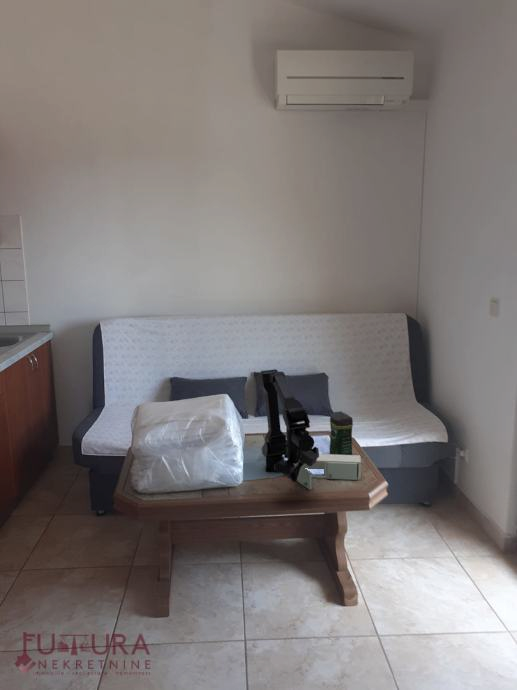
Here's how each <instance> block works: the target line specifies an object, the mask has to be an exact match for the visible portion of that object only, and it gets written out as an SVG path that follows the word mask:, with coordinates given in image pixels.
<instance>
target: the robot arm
mask: <svg viewBox="0 0 517 690" xmlns="http://www.w3.org/2000/svg"><path fill="white" fill-rule="evenodd" d="M257 381H258V383H259V387H260V388H261V390H262V391H263V393H264V397H265V406H266V408H265V409H266V416H267V417H266V419H267V420H266V421H267V429H268V430H267V433H266V435H265V437H264V444H263V445H262V446H261V454H262V455H263V456H264V458H265V469H264V471H265V472H267V473H282V474H286V475H289V477H290V479H291V481H292V482H294V483H296V482H298V481H297V478H298V475H299V471H300V468H301V466H302V465H304V464H307V465H308V466H312V465H313V464H314V463H316V460H317V458H318V457H319V454H320V451H319V448H318V447H317V446H314V445H315V440H314V438H313V437H312V436H311V435H310V432H309V431H308V430H307V429H309V428H310V427H311V426H310V423H311V421H310V419H309V415H308V413H307V409H306V408H305V407H304V406H303V404H302V403H301V401H299V400H298V399H296V398H295V397H294V394H293V392H292V390H291V388H290V385H289V384H288V382H287V380H286V375H285V372H284V371H279V370H278V369H268V370H261V371H260V373H259V374H258V375H257ZM278 398H279V399H278ZM279 400H280V403H281V405H282V410H281V414H282V419H283V422H284V425H285V427H286V429H285V430H286V431H285V433H286V434H284V432H283V431H282V429H281V418H280V410H279ZM285 459H286V460H285Z"/></svg>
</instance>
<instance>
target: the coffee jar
mask: <svg viewBox="0 0 517 690" xmlns="http://www.w3.org/2000/svg"><path fill="white" fill-rule="evenodd" d="M353 424H354V421H353V417H352V416H350V415H349V414H347V413H345V412H343V411H335V412H334V411H333V412H332V413H331V414H330V418H329V425H330V437H329V438H330V440H329V454H334V455H353V441H352V440H353V436H352V435H353Z"/></svg>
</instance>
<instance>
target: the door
mask: <svg viewBox="0 0 517 690" xmlns="http://www.w3.org/2000/svg"><path fill="white" fill-rule="evenodd" d="M312 478H313V477H312V473H311V472H310V471H308V470H307V469H305V468H303V467H302V466H301V468H300V471H299V475H298V478H297V481H296V482H298V483H300V485H302V486H304V487H305V488H307V489H308V490H312V489H313V488H312V483H313V482H312Z"/></svg>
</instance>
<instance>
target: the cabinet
mask: <svg viewBox="0 0 517 690" xmlns="http://www.w3.org/2000/svg"><path fill="white" fill-rule="evenodd" d="M361 459H362V458H361V455H359V454H358V455H355V454H352V455H334V454H330V453H329V454H328V453H327V454H325V453H319V457H318V458H317V460H316V463H314V464H313V465H312V466H308V465H307V464H304V465H302V467H303V468H308V469H324V474H322V475H312V478H319V479H330V480H351V481H357V480H361V477H362V476H361V473H362V471H361V469H362V467H361V465H362V462H361V461H362V460H361Z"/></svg>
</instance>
